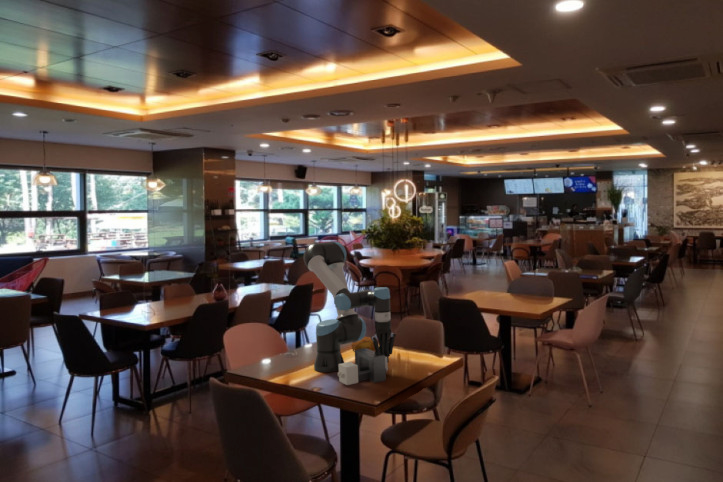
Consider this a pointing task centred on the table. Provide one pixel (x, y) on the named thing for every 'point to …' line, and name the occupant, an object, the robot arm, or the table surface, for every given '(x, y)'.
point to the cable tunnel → (371, 364)
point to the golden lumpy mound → (363, 344)
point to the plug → (352, 373)
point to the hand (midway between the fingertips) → (384, 370)
